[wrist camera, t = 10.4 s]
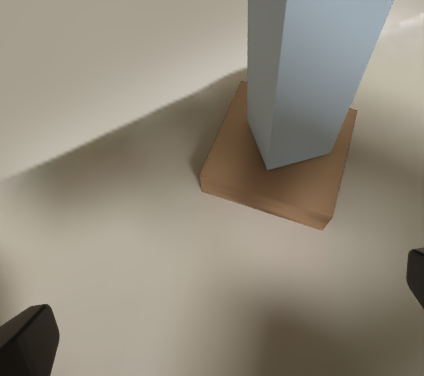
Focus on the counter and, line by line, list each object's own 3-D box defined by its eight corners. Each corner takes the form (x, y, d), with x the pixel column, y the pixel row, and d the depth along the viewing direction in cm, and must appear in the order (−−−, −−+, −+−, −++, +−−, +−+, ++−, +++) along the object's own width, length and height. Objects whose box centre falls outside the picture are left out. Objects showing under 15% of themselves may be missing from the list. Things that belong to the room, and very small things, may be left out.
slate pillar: (330, 153, 23) (406, -31, 12) (267, 170, 22) (286, 0, 12) (305, 104, 25) (350, -89, 14) (247, 119, 24) (248, -64, 14)
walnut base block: (344, 134, 27) (357, 110, 24) (320, 233, 23) (332, 217, 21) (239, 106, 29) (241, 80, 26) (202, 194, 25) (199, 175, 22)
